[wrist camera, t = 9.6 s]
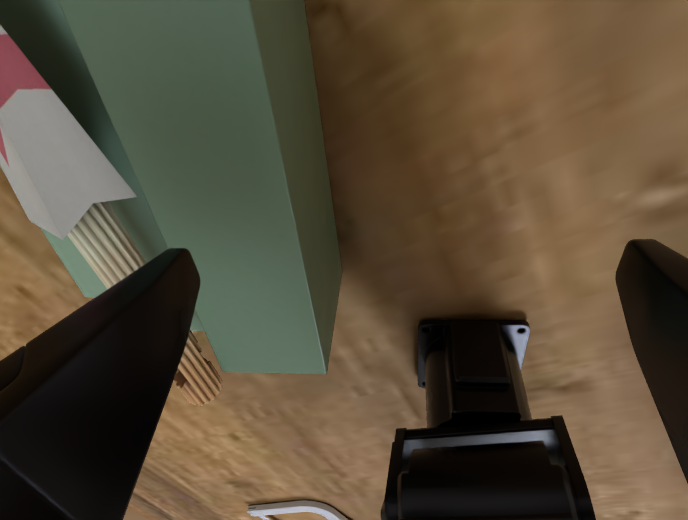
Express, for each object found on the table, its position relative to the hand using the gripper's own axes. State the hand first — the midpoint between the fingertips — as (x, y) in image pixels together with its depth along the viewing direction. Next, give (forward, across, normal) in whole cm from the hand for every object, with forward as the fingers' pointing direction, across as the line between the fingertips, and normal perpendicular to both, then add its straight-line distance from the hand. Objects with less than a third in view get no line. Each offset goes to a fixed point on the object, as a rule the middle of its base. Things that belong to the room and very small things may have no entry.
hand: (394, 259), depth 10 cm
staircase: (+12, +11, +2) cm, 16 cm away
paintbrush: (+6, +10, +2) cm, 12 cm away
